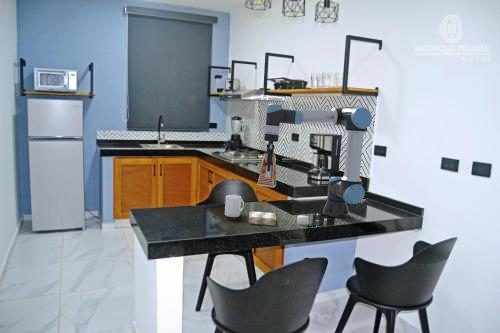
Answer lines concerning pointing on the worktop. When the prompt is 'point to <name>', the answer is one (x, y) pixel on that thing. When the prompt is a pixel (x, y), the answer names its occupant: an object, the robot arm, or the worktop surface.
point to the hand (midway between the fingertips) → (267, 176)
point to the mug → (233, 205)
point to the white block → (302, 220)
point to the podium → (262, 218)
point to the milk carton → (262, 179)
